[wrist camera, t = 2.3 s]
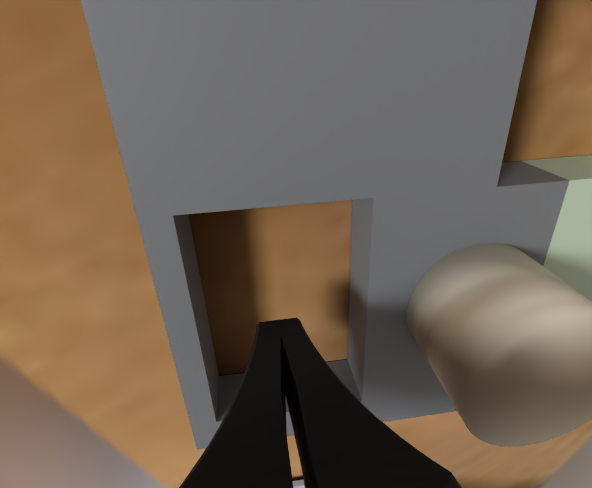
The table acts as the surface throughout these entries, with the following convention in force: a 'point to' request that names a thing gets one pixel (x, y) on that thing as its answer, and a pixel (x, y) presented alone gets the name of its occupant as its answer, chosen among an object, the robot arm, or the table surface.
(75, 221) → the table surface
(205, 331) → the trap deck
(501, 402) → the beige rounded cylinder
